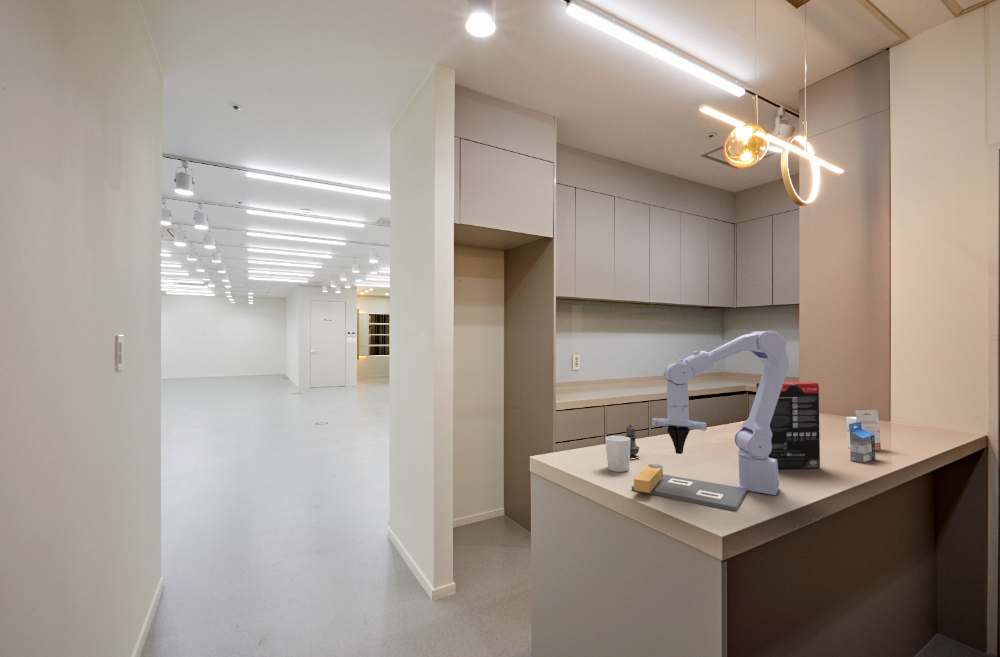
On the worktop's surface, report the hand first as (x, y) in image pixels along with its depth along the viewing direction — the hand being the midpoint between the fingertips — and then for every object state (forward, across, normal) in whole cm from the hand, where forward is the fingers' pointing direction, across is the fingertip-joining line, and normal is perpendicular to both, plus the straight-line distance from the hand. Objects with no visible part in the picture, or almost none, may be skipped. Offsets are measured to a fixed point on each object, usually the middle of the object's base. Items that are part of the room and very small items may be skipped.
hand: (679, 453), depth 124 cm
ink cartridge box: (+10, -43, -79) cm, 90 cm away
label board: (+9, -3, +3) cm, 10 cm away
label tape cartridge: (+10, -42, -61) cm, 75 cm away
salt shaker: (+10, +23, -22) cm, 33 cm away
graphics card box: (+10, -23, -39) cm, 46 cm away
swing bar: (+8, +7, +6) cm, 12 cm away
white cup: (+10, +21, -6) cm, 24 cm away
